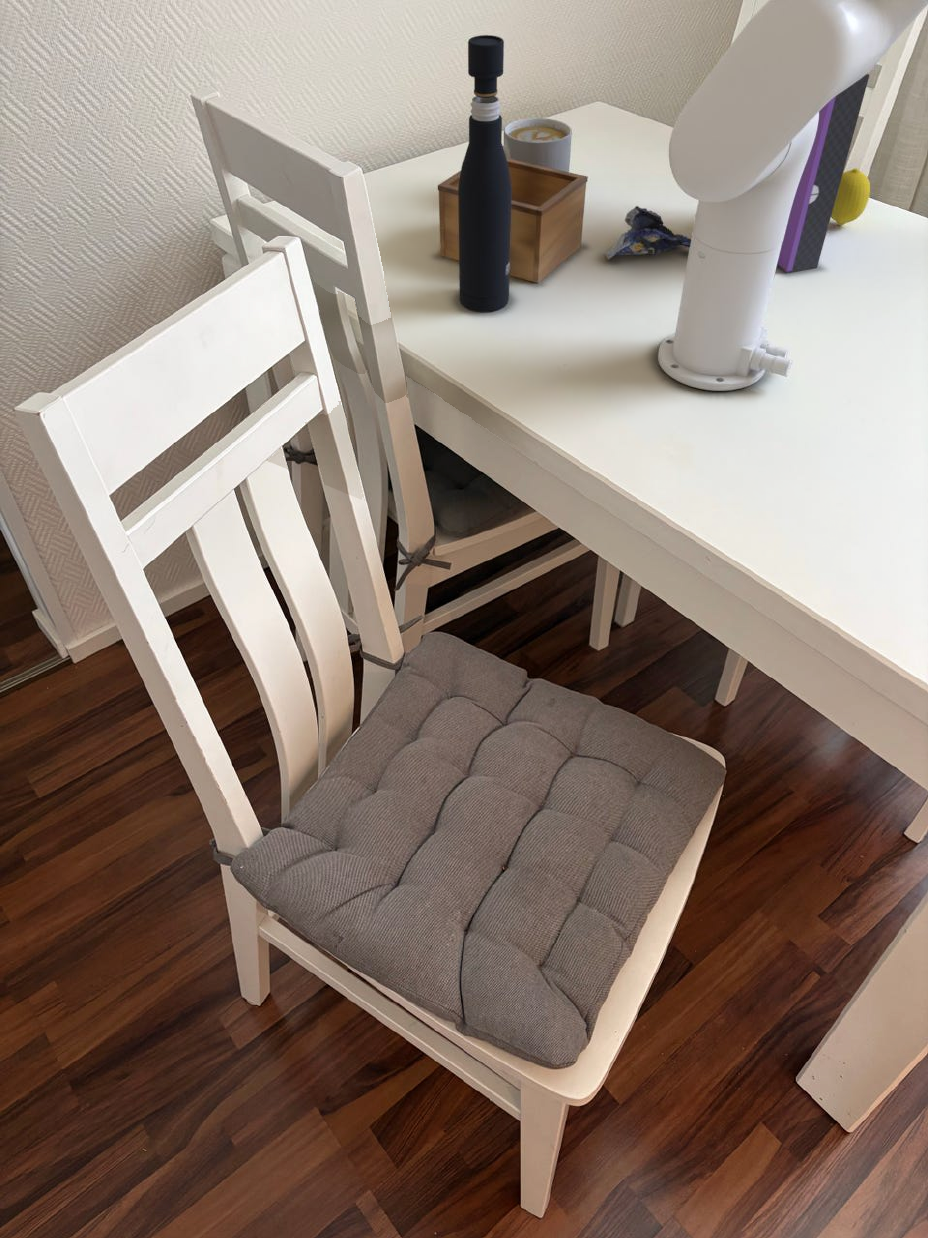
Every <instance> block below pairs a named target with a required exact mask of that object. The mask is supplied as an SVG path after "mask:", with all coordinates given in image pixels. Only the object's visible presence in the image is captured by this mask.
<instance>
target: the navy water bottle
mask: <svg viewBox="0 0 928 1238" xmlns="http://www.w3.org/2000/svg"><path fill="white" fill-rule="evenodd" d="M504 55H505V40H504V39H503V38H502V37H500V36H497V35H492V34H491V35H489V34H483V35H482V34H481V35H475V36H473V37H470V38H469V39H468V41H467V68H468V69H467V73H468V75H469V77H471V78H473V80H474V81H473V82H474V85H473V87H474V88H473V94H474V96H473V97H472V99H471V103H470V107H471V110H470V113H471V115H470V116H469V118H468V145H467V148H466V151H465V155H464V157H463V161H462V165H461V168H460V171H461V173H460V179H459V186H458V214H459V261H458V277H459V278H458V280H459V281H458V283H459V303H460V305H462V307H463V308H465V309H467V310H469V311H472V312H476V313H492V312H496V311H499V310H501V309H504V308H505V307H506V306H507V305H508V304H509V300H510V275H509V273H510V236H511V199H512V186H511V178H510V172H509V166H508V163H507V159H506V156H505V152H504V149H503V146H504V145H503V143H502V140H503V139H502V136H503V117H502V115H500V113H501V110H500V107H501V102H500V98H499V97H498V96H497V95H498V78H500V77H502V76H503V75H504V63H505V62H504Z"/></svg>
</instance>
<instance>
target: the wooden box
mask: <svg viewBox="0 0 928 1238" xmlns="http://www.w3.org/2000/svg"><path fill="white" fill-rule="evenodd" d="M506 159H507V163H508V166H509V172H510V178H511V186H512V199H511V236H510V273H509V276H510V277H515V278H518V279H521V280H526V281H528V282H533V283H535V284H539V283H540V282H542V281H543V280H544V279H545V278H546V277H547V276H548V275H550V273H552V272H553V271H554V270H556V269H557V268H558V267H559V266H561V265H562V264H563V263H564V262H565V261H566V260H567V259H569V258H570V257H571V256H572V255H574V254H575V253H576V252H577V251H579V249H581V247H582V237H583V228H584V227H583V226H584V215H585V213H584V212H585V202H586V190H587V183H588V179H589V176H587V175H582V174H578V173H573V172H570V171H569V172H565V171H561V170H556V169H552V168H548V167H543V166H539V165H535V164H530V163H526V162H522V161H517V160H513V159H509V158H506ZM460 173H461V170H459V171H458V172H456V173H455V174H453V175H452V176H450V177H448V178H447V179H445V180H444V181H442V182H441V183H439V184H437V191H438V209H439V210H438V215H439V217H438V219H439V254H440V255H439V256H440V257H443V258H447V259H450V260H454V261H458V262H459V214H458V186H459V179H460Z"/></svg>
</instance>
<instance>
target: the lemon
mask: <svg viewBox="0 0 928 1238" xmlns="http://www.w3.org/2000/svg"><path fill="white" fill-rule="evenodd" d="M870 194H871V183H870V180H869V178H868V177H867V175H866V174H865V173H863V172H862V171H861V170H860V169H859V168H856V167H855V168H853V169H850V170H847V171H843V174H842V178H841V182H840V185H839V189H838V193H837V196H836V200H835V204H834V207H833V211H832V215H831V218H830V219H832V220H833V221H835V222H836V224H837V225H838V226H841V227H842V226H844V225H845V224H847V223H851V222H853V221H855V220H857V219H858V218H859V217H861V215H862V214H863V213H864V211H865V209H866V208H867V205H868V203H869V199H870Z"/></svg>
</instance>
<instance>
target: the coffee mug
mask: <svg viewBox="0 0 928 1238" xmlns="http://www.w3.org/2000/svg"><path fill="white" fill-rule="evenodd" d="M572 137H573V129H572V127H571V126H570V125H569V124H567V123H566V122H563V121H561V120H558V119H555V118H554V119H553V118H547V117H527V118H521V119H516V120H513V121H511V122H509V123H507V124H506V125H505V126H504V127H503V145H502V146H503V149H504V152H505V156H506V158H509V159H513V160H517V161H522V162H526V163H530V164H535V165H539V166H543V167H548V168H552V169H556V170H561V171H565V172H569V173H570V166H571V165H570V164H571V151H572V139H573V138H572Z"/></svg>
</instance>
